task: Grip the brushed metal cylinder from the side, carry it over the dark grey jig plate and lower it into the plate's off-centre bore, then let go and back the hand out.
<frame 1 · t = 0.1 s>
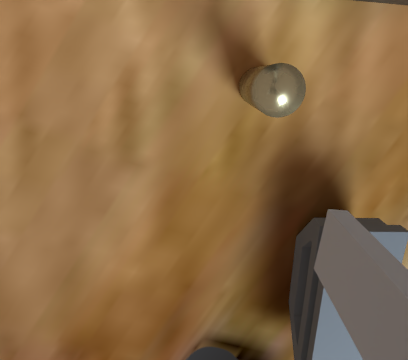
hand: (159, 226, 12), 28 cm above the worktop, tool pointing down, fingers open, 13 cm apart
sharpening stone: (317, 269, 46), on the worktop
brushed metal cylinder: (257, 86, 37), on the worktop
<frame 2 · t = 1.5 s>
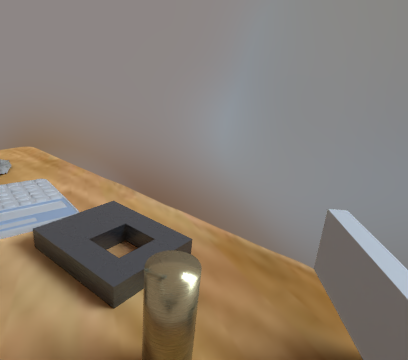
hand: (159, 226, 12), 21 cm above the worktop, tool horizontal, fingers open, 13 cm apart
calculator: (25, 209, 56), on the worktop
jig: (113, 251, 45), on the worktop
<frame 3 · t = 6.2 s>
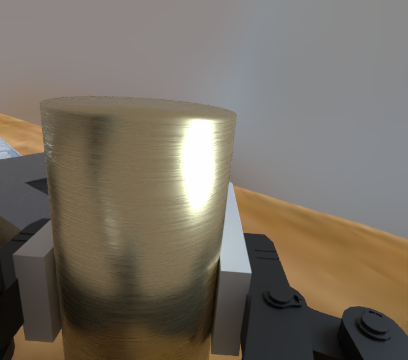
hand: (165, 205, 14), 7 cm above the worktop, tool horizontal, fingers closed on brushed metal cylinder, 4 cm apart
jig: (69, 207, 28), on the worktop
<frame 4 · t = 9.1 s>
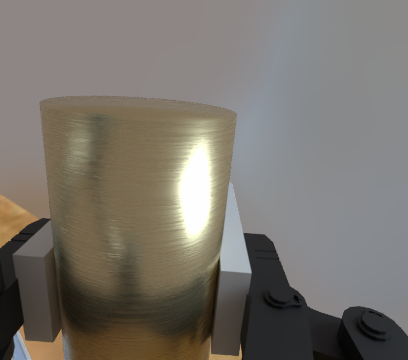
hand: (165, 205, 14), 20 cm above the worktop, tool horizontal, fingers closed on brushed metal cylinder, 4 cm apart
when the fingers open (9 cm above the worktop, at t = 12.3 s): brushed metal cylinder drops 2 cm, resting in jig.
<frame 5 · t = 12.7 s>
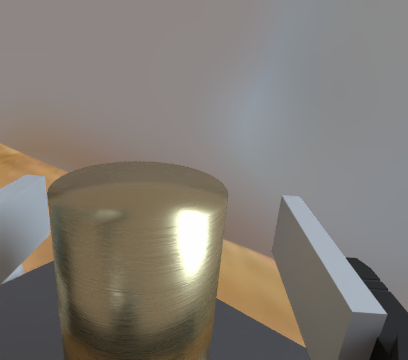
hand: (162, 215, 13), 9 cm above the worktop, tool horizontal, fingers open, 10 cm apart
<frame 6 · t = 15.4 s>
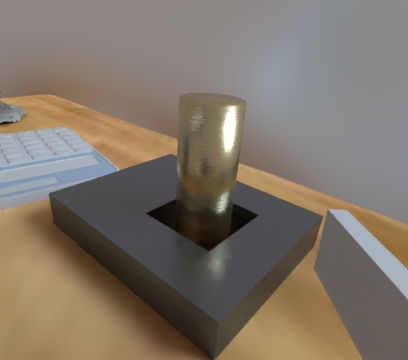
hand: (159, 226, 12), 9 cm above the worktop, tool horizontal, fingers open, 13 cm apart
calculator: (41, 167, 38), on the worktop
brushed metal cylinder: (201, 245, 25), resting in jig
jig: (183, 234, 26), on the worktop
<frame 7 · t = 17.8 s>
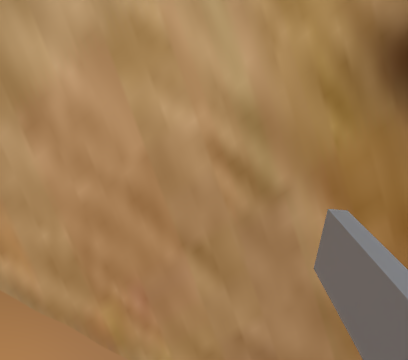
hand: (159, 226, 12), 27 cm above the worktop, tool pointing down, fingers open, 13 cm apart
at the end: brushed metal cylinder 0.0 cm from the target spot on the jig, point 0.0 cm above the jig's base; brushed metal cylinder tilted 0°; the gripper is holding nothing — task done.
